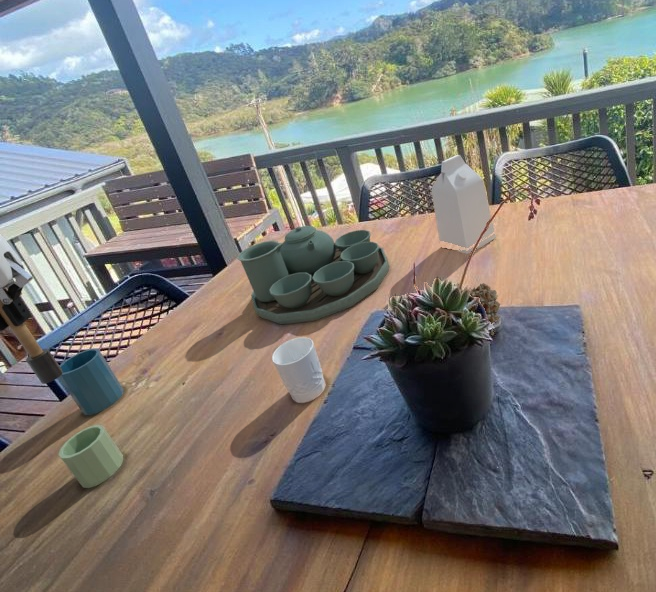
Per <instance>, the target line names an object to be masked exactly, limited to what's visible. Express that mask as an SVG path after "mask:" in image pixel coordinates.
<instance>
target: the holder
mask: <svg viewBox="0 0 656 592" xmlns="http://www.w3.org/2000/svg"><path fill="white" fill-rule="evenodd" d="M58 457H59V459H60V460H61V462H62V463H63V464H64V465H65V466H66V467H67V469H68V471H69V472H70V473H71V474H72V476H73V477H74V479H75V480H76V481H77V482H78V484H79V485H80V486H81V487H82V488H84V489H89V488H94V487H96V486H99V485H100V484H102V483H104V482H105V481H108V479H110V478H111V477H112V476H113V475H115V473H116V472H117V471H118V470H119V469H120V468H121V466H122V464H123V462H124V455H123V453H122V452H121V450H120V448H119V447H118V445H117V444H116V443H115V441H114V440H113V438H112V437H111V434H109V432H108V431H107V429H106V428H105V427H104V426H103V425H101V424H94V425H93V424H92V425H91V426H87V427H85V428H83V429H81V430H80V431H78V432H77V433H74V434H73V435H72V436H71V437H70V438H69V439H67V440H66V441H65V442H64V443H63V445H62V446H61V447H60V449H59V452H58Z"/></svg>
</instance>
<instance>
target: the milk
mask: <svg viewBox="0 0 656 592" xmlns="http://www.w3.org/2000/svg"><path fill="white" fill-rule="evenodd" d="M440 169H441V170H440V174H439V175H438V177H437V178H436V179H435V181H434V182H433V184H432V186H431V198H432V203H433V210H434V216H435V222H436V228H437V233H438V239H439V240H440V241H444V242H448V243H452V244H455V245H458V246H461V247H465V248H469V247H470V246H472V245H473V244H475V243H476V241H477V240H478V238H479V236H480V234H481V232H482V230H483V229H484V228H485V226H486V223H487V222H488V221H489V219H490V218H491V217H492V214H491V209H490V204H489V201H488V195H487V192H486V191H487V190H486V187H485V184H484V180H483V178H482V177H481V175H480V174H479V173H478V172H476V171H475V170H474V169H473V168H471V166H469V165H468V163H466V161H465V160H464V158H463V157H462V155H461V154H456V155H453V156H452V157H451V156H450V158H447V159H444V160H443V161H441V167H440ZM493 232H495V234H493V235H492V236H490V237H489V238H487V239H485V238H486V237H488V236H489V235H490V234H492V233H493ZM484 237H485V238H484ZM483 238H484V239H485V240H484V241H482V240H483ZM496 238H497V235H496V231H495V227H494V222H493V221H492V222H491V224H490V226H489V228H488V230H487V231H486V233H485V234H484V236H483V237H482V240H481V242H480V243H479V246H478V247H477V249H476V250H479V249H481V248H482V247H484V246H485V245H487V244H489V243H490V242H492V241H494V240H496ZM440 241H439V242H440ZM472 249H473V247H472V248H471V249H469V250H468V251H466V250H462V251H461V250H460V249H459V250H460V251H457V252H458V253H462V254H465V255H468V254H470V253H472V252H473V251H472ZM471 251H472V252H471ZM469 252H470V253H469Z"/></svg>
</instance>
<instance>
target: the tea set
mask: <svg viewBox="0 0 656 592" xmlns="http://www.w3.org/2000/svg"><path fill="white" fill-rule="evenodd" d="M236 259H237V260H238V261H240V263H241V266H242V269H243V271H244V272H245V275H246V277H247V279H248V282H249V284H250V286H251V288H252V293H251V294H250V297H251V301H252V305H253V308H254V311H255V313H256V315H257V316H258V317H259V318H262V319H265V320H267V321H270V322H272V323H276V324H279V325H288V324H296V323H298V324H299V323H306V322H307V323H308V322H313V321H314V322H315V321H318V320H321V319H323V318H326V317H329V316H332V315H334V314H336V313H339V312H341V311H345V310H347V309H350V308H352V307H353V306H354V305H356V304H357V303H359V302H361V301H362V300H363V299H365V298H366V297H368V296H369V295H370V294H371V293H373V292H375V291H376V290H377V289H379V287H380V285H381V284H382V282H383V280H384V278H385V277H386V276H387V274H388V272H389V270H390V263H389V261H388V257H387V256H386V253H385V250H384V248H383V247H381V246H380V245H379V243H378V242H375V241H371V232H370V231H369V230H366V229H356V230H353V231H349V232H347V233H345V234H342V235H340V236H339V237H338V238H336V239H335V241H334V239H333V238H332V236H331V235H330V234H329V233H327V232H326V231H323V230H319V229H316V227H315V226H313V225H304V226H296V227H295V228H294V229H292V230H289V232H287V233H286V234H285V236H284V241H283V242H280V241H278V240H267V241H261V242H259V243H256V244H253V245H251V246H249V247H246V248H244V250H242V251H241V252H240V253H238V255H237V258H236Z"/></svg>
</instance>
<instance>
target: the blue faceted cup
mask: <svg viewBox="0 0 656 592" xmlns="http://www.w3.org/2000/svg"><path fill="white" fill-rule="evenodd" d="M59 366H60V368H61V369H62V371H63V373H62V375H61V376H60V377H58V378H57V379H59V381H60V382H61V383H62V385H63V386H64V388H65V390H66V391H67V392H68V394H69V395H70V396H71V398H72V400H73V401H74V402H75V404H76V405H77V408H79V410H80V411H81V412H82V414H83V415H84V416H91V415H96V414H98V413H101V412H103V411H105V410H106V409H108V408H110V407H111V406H113V405H114V404H115V403H116V402H117V401H118V400H120V398H121V397H122V396H123V394H124V388H123V386H122V384H121V383H120V381H119V379H118V378H117V376H116V375H115V373H114V371H113V370H112V368H111V366H110V365H109V363H108V362H107V360H106V359H105V357H104V355H103V354H102V352H101V350H100V349H99V348H89V349H85V350H82V351H80V352H78V353H76V354H74V355H72V356H71V357H69V358H67V359H66V360H64V361H63V362H62V363H60V365H59Z"/></svg>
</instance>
